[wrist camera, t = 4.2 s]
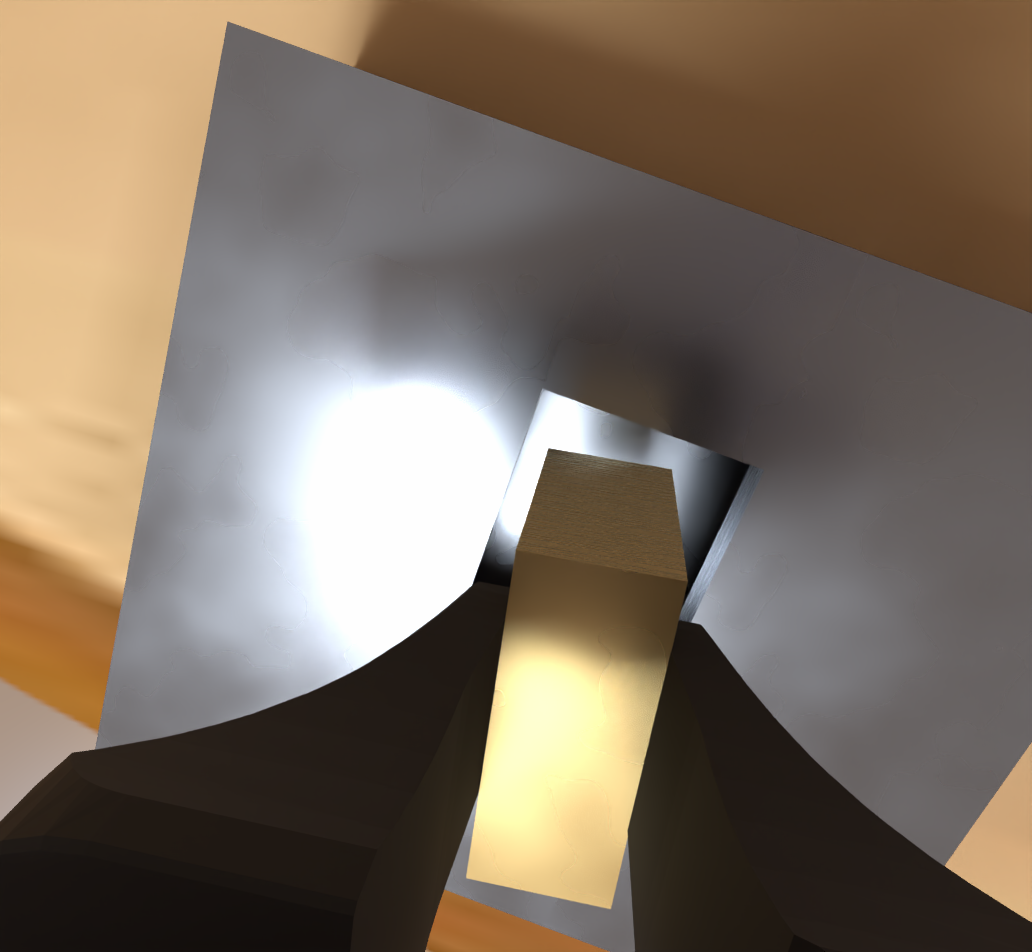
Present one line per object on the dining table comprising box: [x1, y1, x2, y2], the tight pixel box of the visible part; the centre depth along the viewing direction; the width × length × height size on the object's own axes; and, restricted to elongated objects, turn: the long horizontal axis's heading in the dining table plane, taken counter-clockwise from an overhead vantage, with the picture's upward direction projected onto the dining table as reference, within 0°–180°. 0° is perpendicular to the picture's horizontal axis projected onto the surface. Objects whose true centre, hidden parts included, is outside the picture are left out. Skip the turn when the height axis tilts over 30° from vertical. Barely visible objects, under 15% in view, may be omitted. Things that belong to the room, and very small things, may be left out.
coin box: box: [95, 22, 1032, 952], centre depth 18 cm, size 17×15×6 cm
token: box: [466, 448, 688, 909], centre depth 12 cm, size 2×5×4 cm, turn 172°
